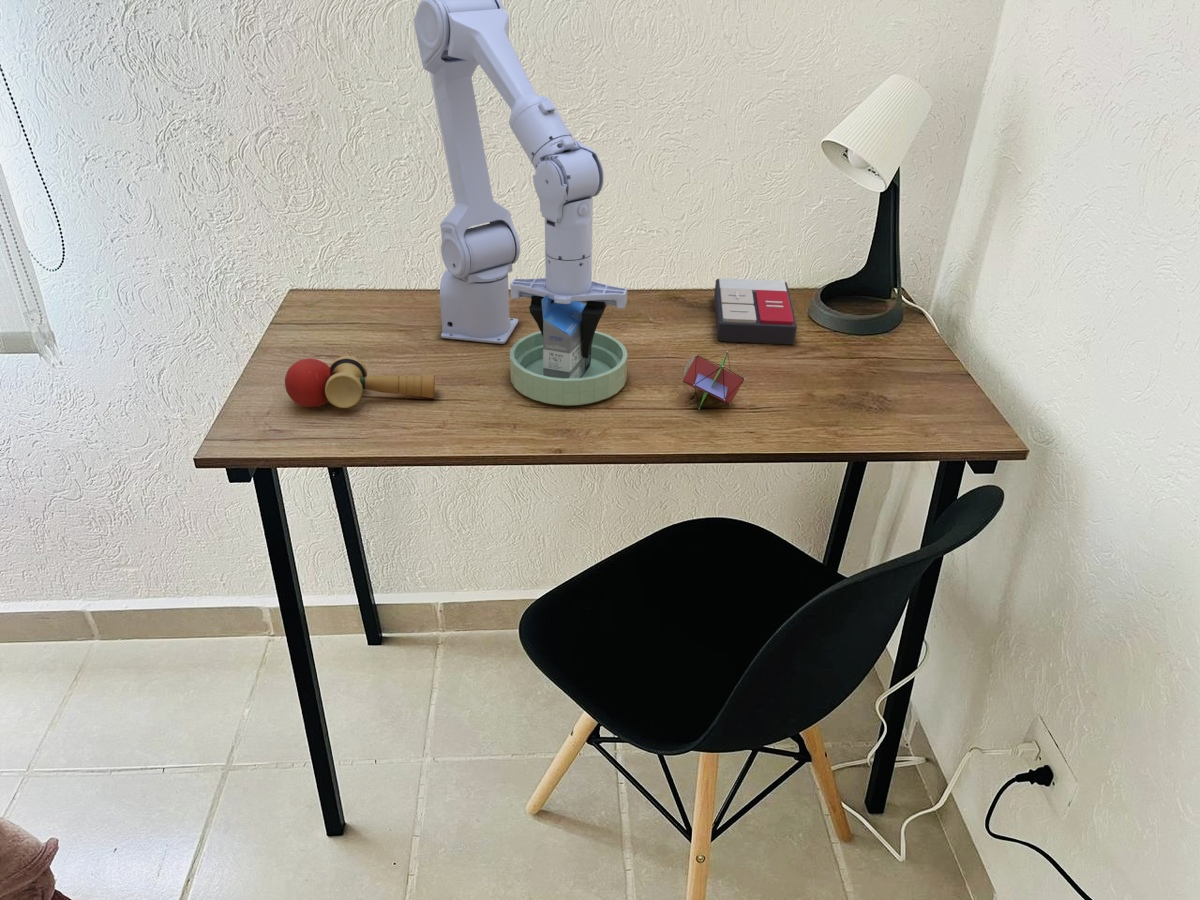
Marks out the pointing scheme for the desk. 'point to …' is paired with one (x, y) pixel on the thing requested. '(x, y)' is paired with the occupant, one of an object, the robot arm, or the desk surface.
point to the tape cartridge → (563, 340)
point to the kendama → (347, 382)
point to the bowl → (591, 387)
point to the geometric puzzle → (712, 379)
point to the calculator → (754, 311)
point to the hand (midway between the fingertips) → (568, 352)
